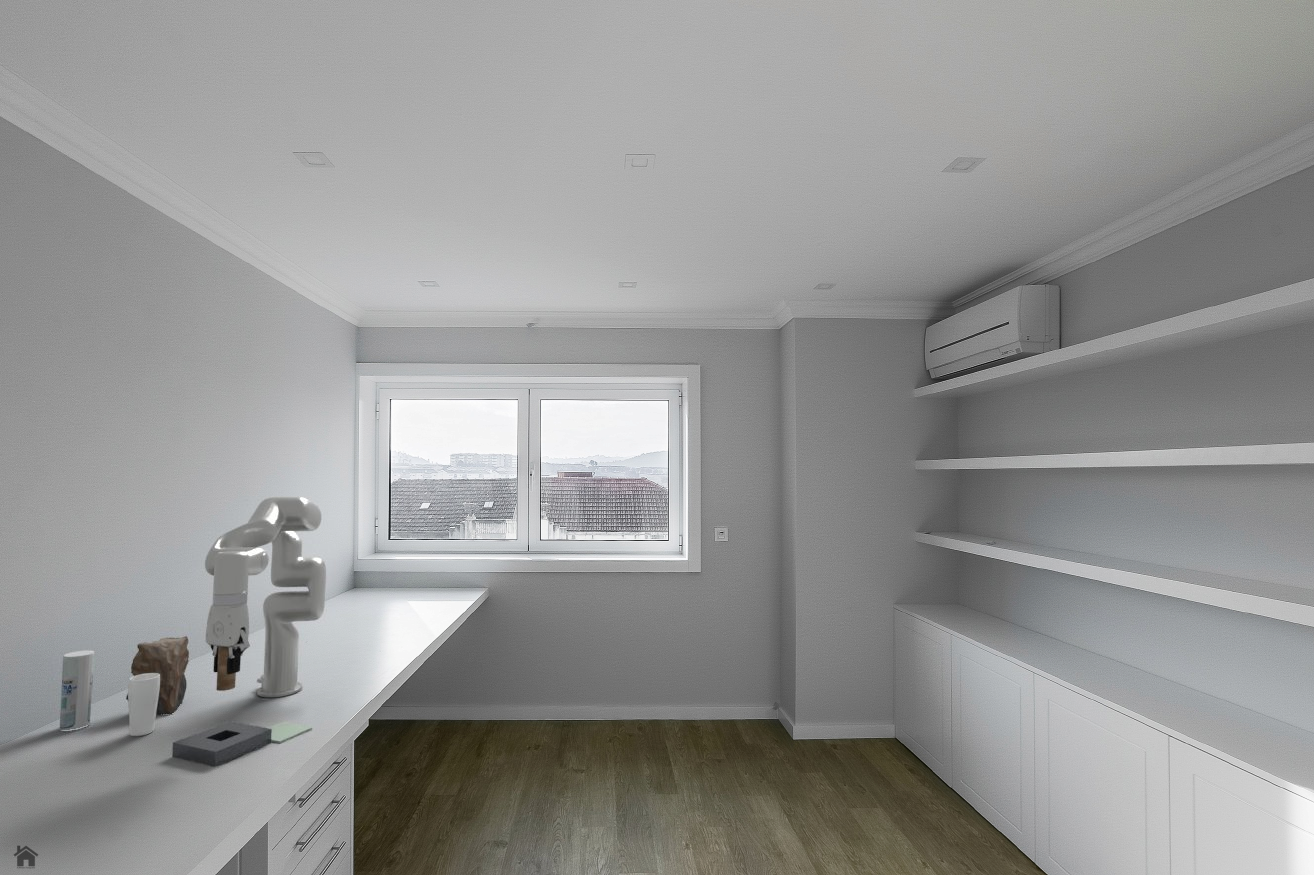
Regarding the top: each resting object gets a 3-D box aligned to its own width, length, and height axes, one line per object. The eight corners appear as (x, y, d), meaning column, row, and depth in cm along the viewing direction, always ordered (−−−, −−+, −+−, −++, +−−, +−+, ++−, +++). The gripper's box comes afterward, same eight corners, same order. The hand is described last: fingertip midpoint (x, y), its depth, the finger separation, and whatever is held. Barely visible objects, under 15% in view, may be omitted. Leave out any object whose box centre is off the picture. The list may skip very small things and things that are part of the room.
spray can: (53, 729, 177) (57, 655, 178) (81, 721, 183) (85, 649, 184) (67, 733, 175) (71, 657, 176) (95, 725, 181) (99, 651, 182)
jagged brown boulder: (123, 717, 187) (127, 646, 188) (149, 701, 199) (153, 635, 200) (172, 715, 189) (175, 645, 190) (195, 699, 201) (198, 634, 202)
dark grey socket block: (172, 757, 161) (172, 742, 162) (230, 734, 175) (230, 721, 176) (215, 766, 156) (215, 751, 156) (271, 742, 170) (271, 729, 170)
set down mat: (249, 737, 174) (249, 735, 174) (282, 723, 183) (282, 721, 183) (279, 743, 170) (279, 741, 170) (312, 729, 179) (312, 727, 179)
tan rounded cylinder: (212, 689, 166) (214, 641, 166) (227, 684, 169) (229, 638, 170) (223, 691, 164) (226, 643, 165) (238, 686, 168) (241, 639, 169)
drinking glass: (122, 740, 171) (125, 681, 172) (129, 730, 177) (132, 674, 178) (154, 735, 174) (157, 678, 175) (160, 726, 180) (162, 671, 181)
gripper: (192, 599, 167) (189, 672, 166) (239, 604, 162) (236, 680, 161) (221, 594, 175) (217, 664, 173) (267, 599, 169) (263, 671, 168)
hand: (226, 671), depth 167 cm, fingers closed on tan rounded cylinder, 4 cm apart
